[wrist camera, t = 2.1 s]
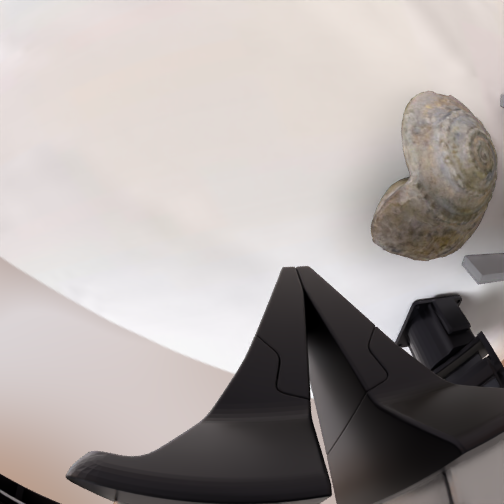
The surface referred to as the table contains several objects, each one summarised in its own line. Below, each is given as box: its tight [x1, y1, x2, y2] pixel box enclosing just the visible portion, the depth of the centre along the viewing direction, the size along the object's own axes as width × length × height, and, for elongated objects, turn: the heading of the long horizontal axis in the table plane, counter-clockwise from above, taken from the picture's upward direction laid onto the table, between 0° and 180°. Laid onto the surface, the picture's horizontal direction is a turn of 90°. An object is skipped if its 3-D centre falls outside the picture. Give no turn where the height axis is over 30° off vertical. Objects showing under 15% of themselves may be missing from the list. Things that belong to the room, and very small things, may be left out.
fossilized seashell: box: [371, 91, 497, 261], centre depth 16 cm, size 11×11×7 cm
